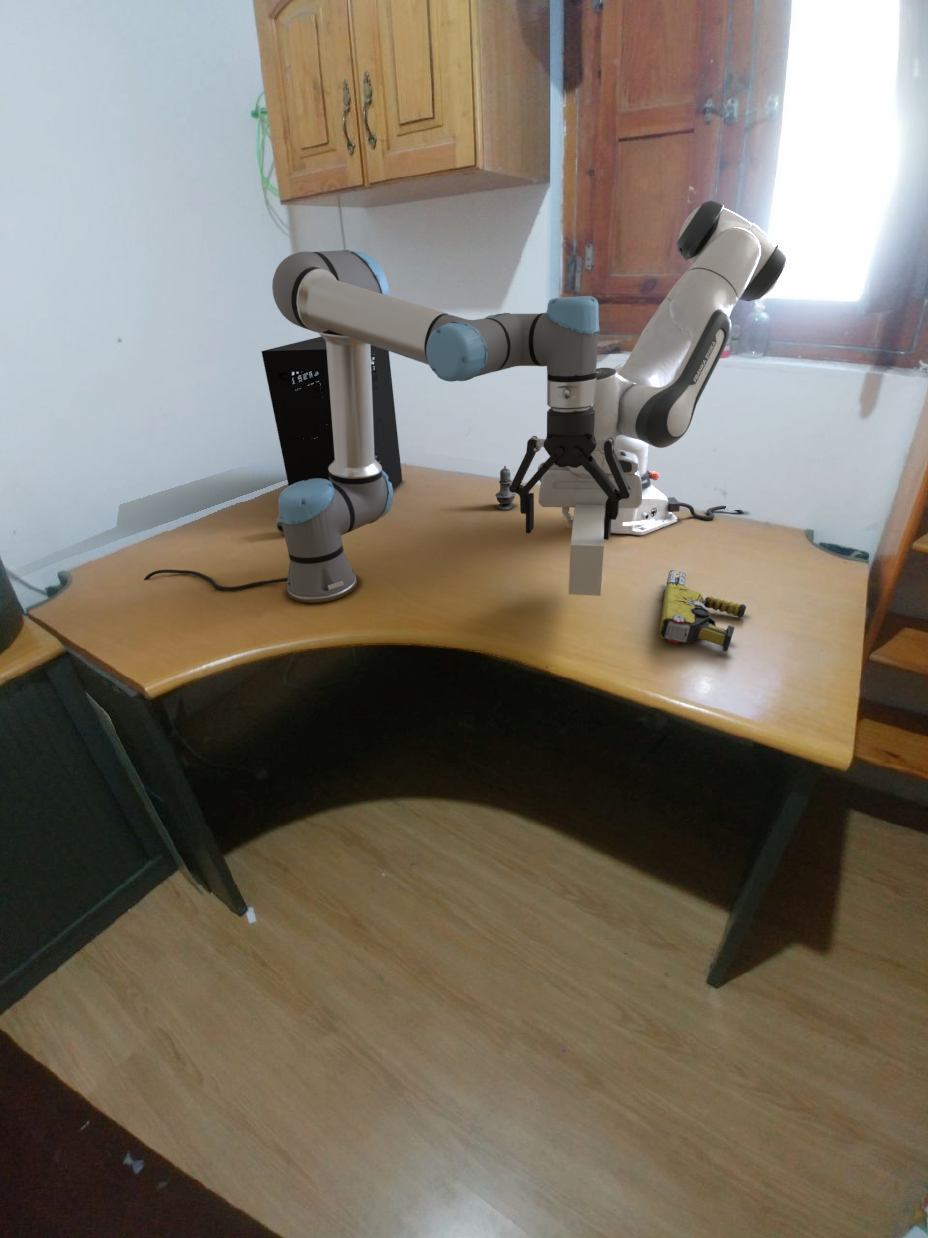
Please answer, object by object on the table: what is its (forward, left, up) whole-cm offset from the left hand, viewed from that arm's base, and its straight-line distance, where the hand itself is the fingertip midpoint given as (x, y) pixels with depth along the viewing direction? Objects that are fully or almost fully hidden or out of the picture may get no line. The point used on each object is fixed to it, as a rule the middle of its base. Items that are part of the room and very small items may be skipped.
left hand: (567, 533), depth 105 cm
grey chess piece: (-34, +61, -19) cm, 72 cm away
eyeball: (-84, +25, -19) cm, 89 cm away
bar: (+1, +10, -10) cm, 14 cm away
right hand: (-1, +19, -6) cm, 20 cm away
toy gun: (+24, +11, -19) cm, 33 cm away
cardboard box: (-82, +55, -19) cm, 101 cm away
